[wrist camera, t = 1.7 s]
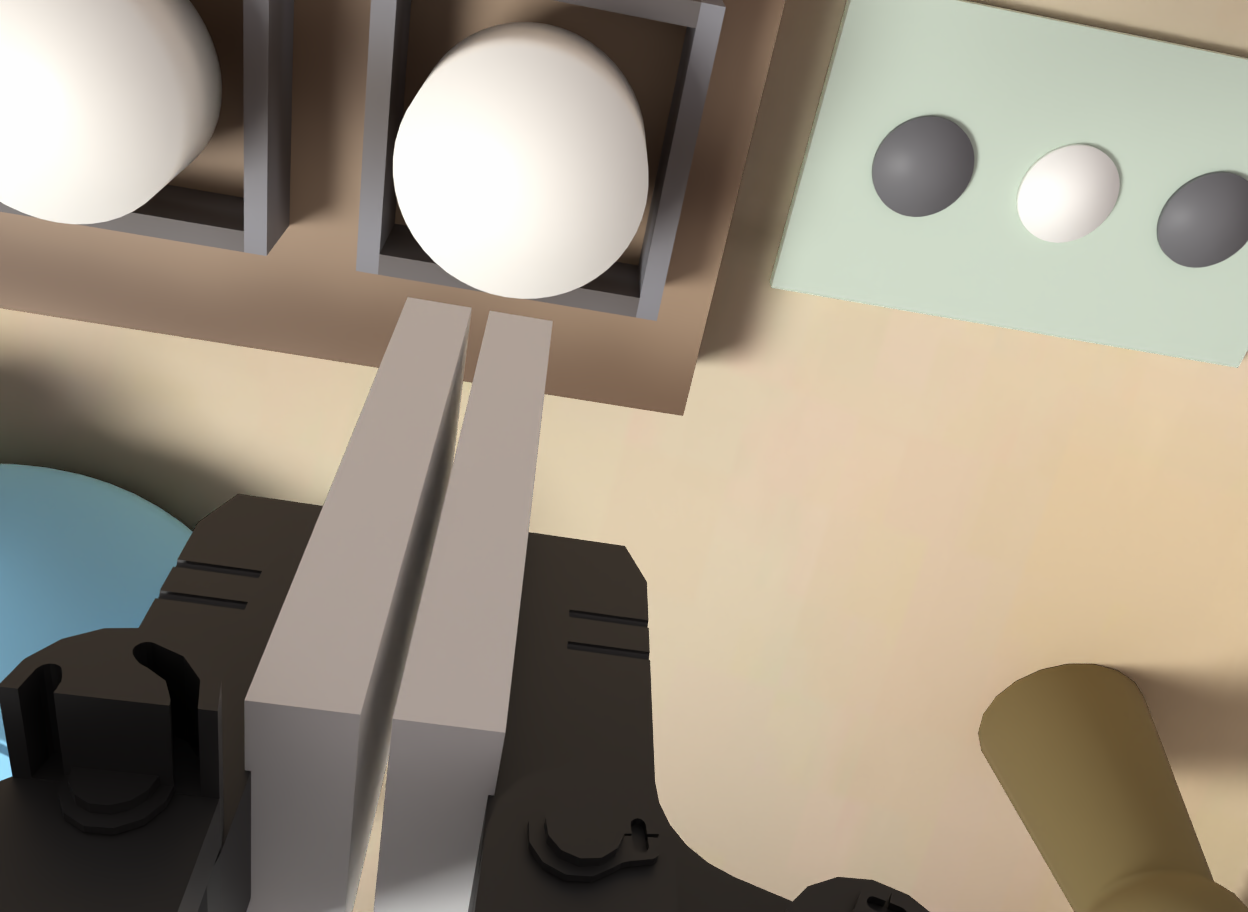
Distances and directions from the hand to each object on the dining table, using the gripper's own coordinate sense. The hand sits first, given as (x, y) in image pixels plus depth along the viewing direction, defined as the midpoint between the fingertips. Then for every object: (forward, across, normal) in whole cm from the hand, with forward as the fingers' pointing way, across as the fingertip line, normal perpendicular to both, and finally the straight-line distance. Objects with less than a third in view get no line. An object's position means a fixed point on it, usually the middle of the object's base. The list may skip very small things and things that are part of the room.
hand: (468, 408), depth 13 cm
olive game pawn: (+17, -22, +19) cm, 33 cm away
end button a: (+12, 0, 0) cm, 12 cm away
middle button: (+12, +9, 0) cm, 15 cm away
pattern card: (+16, -14, 0) cm, 22 cm away
